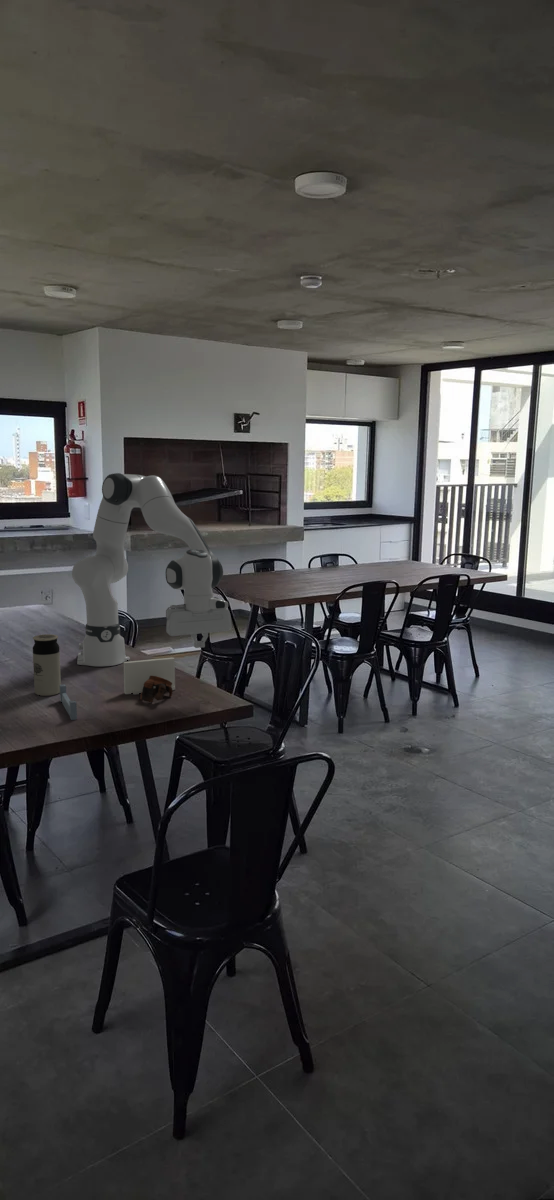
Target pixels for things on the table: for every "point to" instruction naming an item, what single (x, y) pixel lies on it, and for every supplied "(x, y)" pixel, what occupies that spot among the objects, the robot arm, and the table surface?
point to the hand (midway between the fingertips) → (199, 647)
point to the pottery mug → (155, 689)
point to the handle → (68, 703)
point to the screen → (147, 673)
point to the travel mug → (46, 665)
